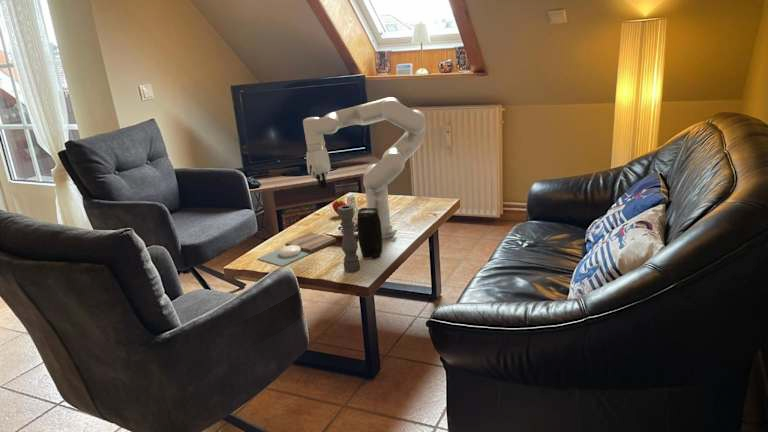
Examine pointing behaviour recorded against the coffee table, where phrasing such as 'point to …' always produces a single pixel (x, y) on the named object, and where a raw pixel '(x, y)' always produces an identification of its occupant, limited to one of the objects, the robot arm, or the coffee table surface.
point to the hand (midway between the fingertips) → (323, 188)
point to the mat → (281, 258)
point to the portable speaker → (369, 233)
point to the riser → (312, 242)
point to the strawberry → (338, 204)
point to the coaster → (290, 251)
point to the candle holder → (349, 239)
